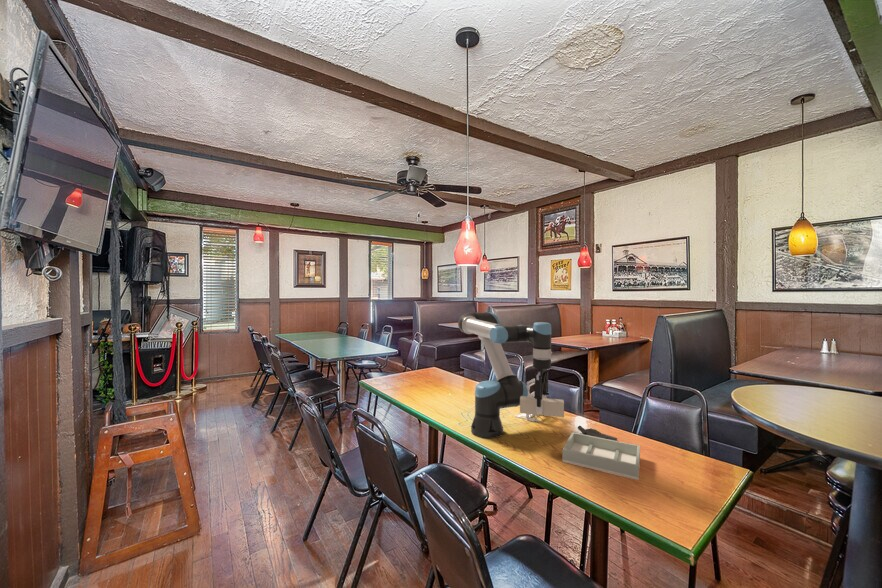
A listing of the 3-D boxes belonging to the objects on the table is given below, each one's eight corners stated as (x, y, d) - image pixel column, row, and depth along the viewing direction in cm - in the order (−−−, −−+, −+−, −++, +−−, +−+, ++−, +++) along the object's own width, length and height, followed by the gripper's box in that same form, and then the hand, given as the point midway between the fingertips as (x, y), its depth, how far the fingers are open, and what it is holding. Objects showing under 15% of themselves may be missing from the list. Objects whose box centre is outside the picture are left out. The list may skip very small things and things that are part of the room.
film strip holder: (523, 410, 200) (523, 374, 200) (547, 415, 191) (548, 378, 192) (512, 417, 188) (513, 379, 188) (538, 422, 180) (538, 383, 180)
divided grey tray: (562, 461, 138) (562, 448, 138) (572, 443, 155) (572, 432, 155) (638, 480, 124) (638, 466, 124) (640, 458, 142) (640, 445, 142)
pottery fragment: (619, 442, 158) (620, 432, 158) (604, 447, 151) (604, 437, 151) (590, 431, 170) (590, 422, 170) (574, 435, 164) (574, 426, 164)
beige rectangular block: (519, 412, 152) (520, 399, 152) (520, 409, 157) (520, 395, 157) (563, 417, 147) (564, 402, 147) (563, 413, 152) (563, 399, 152)
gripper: (545, 362, 142) (544, 420, 142) (555, 356, 158) (555, 407, 158) (526, 360, 146) (526, 416, 146) (539, 354, 162) (538, 404, 162)
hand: (541, 411), depth 152 cm, fingers closed on beige rectangular block, 6 cm apart
